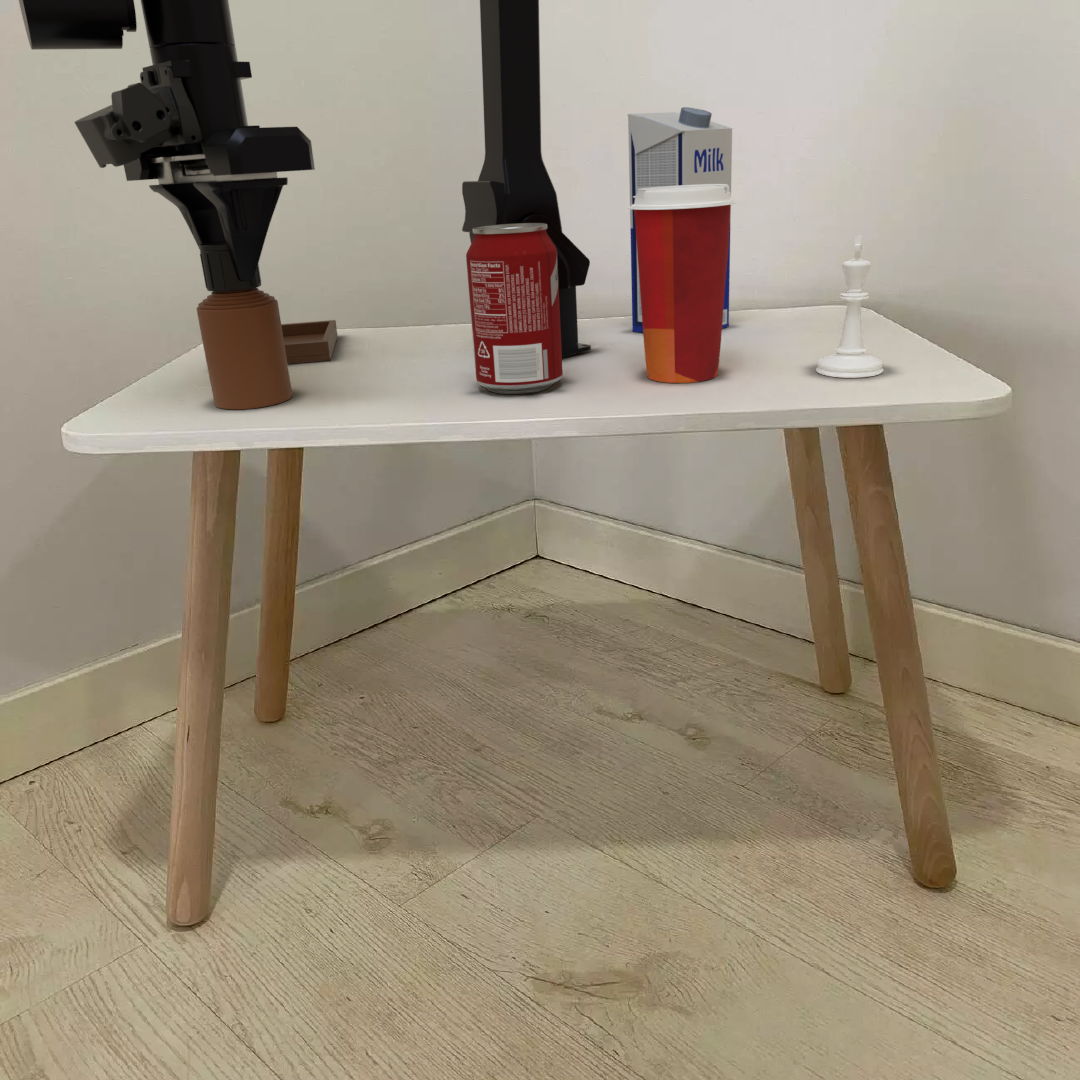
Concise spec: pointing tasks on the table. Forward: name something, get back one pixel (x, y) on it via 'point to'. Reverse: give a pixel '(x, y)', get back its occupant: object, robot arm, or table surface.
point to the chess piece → (852, 327)
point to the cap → (222, 269)
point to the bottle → (244, 349)
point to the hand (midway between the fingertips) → (233, 279)
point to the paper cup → (682, 278)
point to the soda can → (514, 308)
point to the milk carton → (675, 169)
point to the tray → (309, 341)
